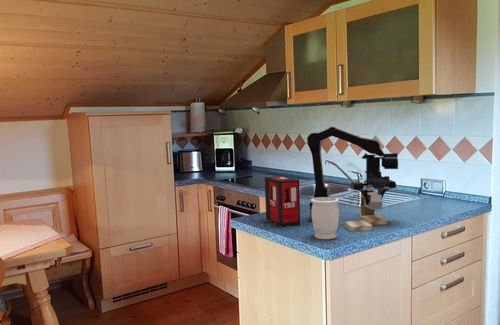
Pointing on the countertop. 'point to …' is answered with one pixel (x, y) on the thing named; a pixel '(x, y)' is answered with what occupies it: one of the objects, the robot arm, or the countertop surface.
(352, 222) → the stand
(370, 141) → the robot arm
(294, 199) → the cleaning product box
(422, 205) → the countertop surface
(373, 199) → the block
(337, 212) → the jar
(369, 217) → the stand
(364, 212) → the condiment
